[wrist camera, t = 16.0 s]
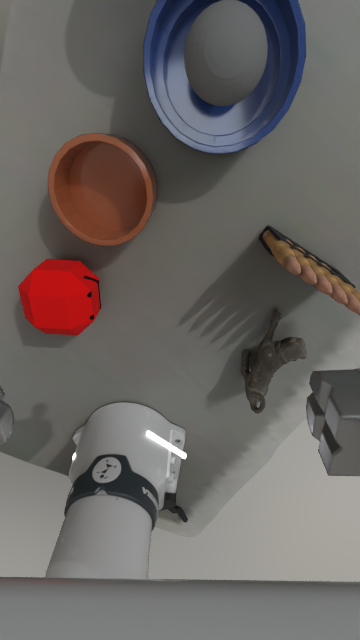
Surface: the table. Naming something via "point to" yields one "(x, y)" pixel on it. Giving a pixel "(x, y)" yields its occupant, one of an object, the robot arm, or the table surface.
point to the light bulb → (225, 52)
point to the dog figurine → (269, 363)
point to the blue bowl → (222, 121)
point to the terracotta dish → (102, 188)
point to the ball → (60, 297)
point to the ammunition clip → (311, 268)
